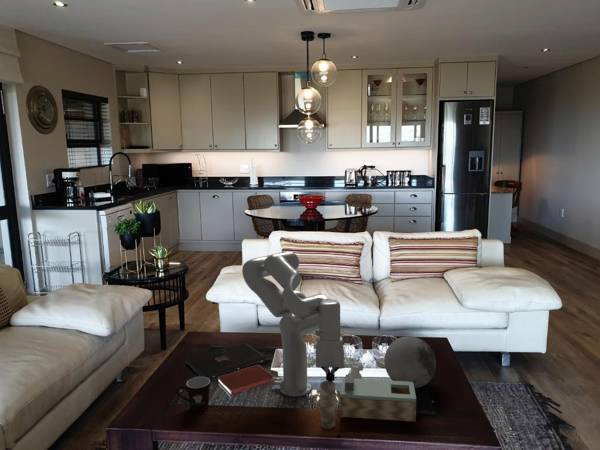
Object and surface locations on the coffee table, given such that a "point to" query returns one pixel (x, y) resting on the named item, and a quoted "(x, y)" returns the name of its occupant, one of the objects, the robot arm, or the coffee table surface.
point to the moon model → (410, 361)
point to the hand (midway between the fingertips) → (330, 382)
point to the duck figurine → (356, 370)
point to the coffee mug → (197, 392)
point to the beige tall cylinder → (327, 404)
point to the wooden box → (379, 408)
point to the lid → (375, 389)
